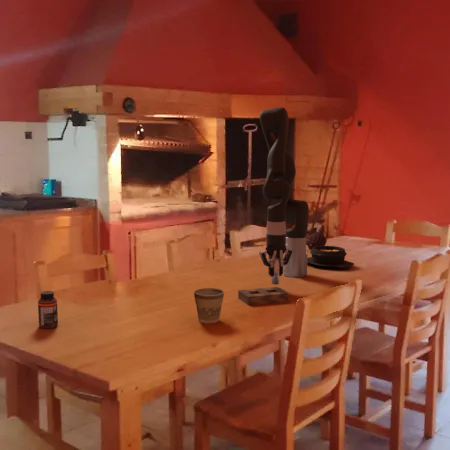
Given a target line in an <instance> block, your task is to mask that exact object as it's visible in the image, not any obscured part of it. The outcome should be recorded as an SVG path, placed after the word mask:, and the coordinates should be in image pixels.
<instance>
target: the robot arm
mask: <svg viewBox="0 0 450 450" xmlns="http://www.w3.org/2000/svg"><path fill="white" fill-rule="evenodd" d="M289 120H290V119H289V114H288V111H287V109H286V108H285V107H283V106H282V107H275V108H269V109H264V110H262V111H260V113H259V123H260V126H261V129H262V134H263V136H264V140H265V142H266V146H267V149H268V155H267V160H266V162H267V165H266V166H267V167H266V169H267V170H266V176H265V177H266V178H265V181H264V184H263V187H262V196H263V197H264V198H265V199H266V200H279V203H277V204H273V205H269V206H267V212H266V213H267V216H266V217H267V218H266V232H265V233H266V235H265V237H266V240H265V241H266V242H265V244H266V247H265V250H263V251H259V256H260V258H261V259H260V260H261V261H262V263H263V265H264V266H265V267H268V275H269V277H271V278H272V277H273V276H274V268H273V265H274V262H275V259H276V258H280V277H282V276H283V275H284V276H285V277H287V278H304V277H308V262H307V258H308V253H307V251H306V250H307V249H306V248H307V245H306V238H307V232H308V227H309V214H310V208H309V204H308V202H307V201H306V200H302V199H300V200H299V199H293V197H292V195H291V188H292V184H293V182H294V180H295V177H296V174H297V173H296V171H297V170H296V165H295V161H294V158H293V156H292V154H291V153H290V152H289V151H288V150H287V142H288V135H289V133H288V132H289V126H290V125H289V124H290V121H289ZM275 132H278V136H277V137H276V136H275ZM286 221H289V222H295V223H294V226H293V227H291V228H287V225H286ZM267 255H268V257H267ZM267 258H268V259H267Z"/></svg>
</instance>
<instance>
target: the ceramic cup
mask: <svg viewBox="0 0 450 450" xmlns="http://www.w3.org/2000/svg"><path fill="white" fill-rule="evenodd" d="M224 294H225V291H224V290H222V289H221V288H215V287H204V288H203V287H202V288H198V289H195V290H194V291H193V297H194V301H195V305H196V311H197V317H198V320H199V322H200V323H201V324H202V323H203V324H205V325H206V324H209V325H210V324H216V323H218V322H219V321H220V316H221V311H222V306H223V301H224Z"/></svg>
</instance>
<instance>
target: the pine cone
mask: <svg viewBox="0 0 450 450" xmlns="http://www.w3.org/2000/svg"><path fill="white" fill-rule="evenodd" d="M327 241H328V239H327V237H326V236H325V235H324V233H322V232H319V231H318V232H313V233H311V234H310V235H309V236H308V237H306V246H307V247H308V251H312V248H313V247H317V246H326V244H327Z"/></svg>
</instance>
